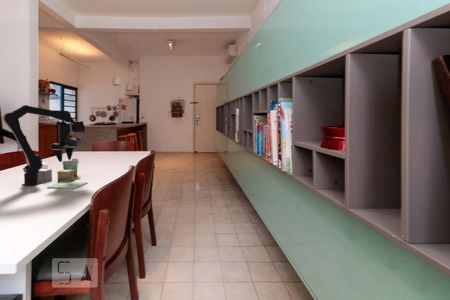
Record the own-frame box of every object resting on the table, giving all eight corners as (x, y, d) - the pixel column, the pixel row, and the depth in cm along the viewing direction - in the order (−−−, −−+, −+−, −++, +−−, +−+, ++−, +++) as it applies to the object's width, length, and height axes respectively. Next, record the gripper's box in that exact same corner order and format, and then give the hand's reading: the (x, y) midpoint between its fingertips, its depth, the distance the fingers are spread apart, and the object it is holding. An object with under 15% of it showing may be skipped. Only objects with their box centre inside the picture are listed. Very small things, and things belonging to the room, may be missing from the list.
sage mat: (73, 188, 159) (73, 187, 158) (47, 188, 159) (47, 186, 159) (87, 183, 172) (87, 182, 172) (62, 182, 173) (62, 181, 173)
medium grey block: (45, 181, 176) (45, 171, 175) (35, 181, 176) (34, 170, 175) (52, 179, 182) (51, 169, 181) (42, 179, 182) (41, 169, 181)
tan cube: (68, 182, 175) (67, 171, 174) (57, 181, 175) (57, 171, 175) (73, 180, 181) (73, 169, 180) (63, 179, 181) (63, 169, 181)
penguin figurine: (47, 160, 196) (51, 164, 187) (47, 174, 197) (51, 178, 188) (35, 161, 192) (39, 165, 182) (36, 174, 193) (39, 179, 184)
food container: (73, 178, 187) (72, 161, 186) (62, 177, 187) (62, 161, 186) (82, 174, 199) (82, 158, 198) (73, 174, 199) (72, 158, 199)
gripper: (69, 134, 166) (70, 163, 168) (86, 132, 185) (87, 159, 186) (49, 133, 167) (49, 162, 168) (68, 132, 185) (68, 158, 187)
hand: (65, 160), depth 177 cm, fingers open, 9 cm apart
